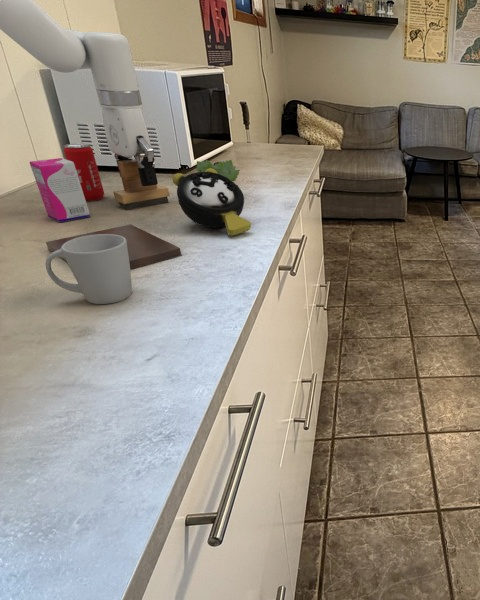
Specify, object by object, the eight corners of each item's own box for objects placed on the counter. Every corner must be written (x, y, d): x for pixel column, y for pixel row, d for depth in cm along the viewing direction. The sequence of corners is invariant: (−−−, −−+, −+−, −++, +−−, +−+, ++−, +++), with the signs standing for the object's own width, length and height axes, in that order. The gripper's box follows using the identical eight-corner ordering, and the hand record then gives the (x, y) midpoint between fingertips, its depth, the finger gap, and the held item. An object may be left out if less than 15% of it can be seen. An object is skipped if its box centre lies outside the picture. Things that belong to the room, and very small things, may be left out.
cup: (138, 303, 69) (123, 249, 65) (53, 314, 65) (32, 257, 61) (141, 282, 75) (128, 231, 71) (63, 291, 71) (45, 238, 67)
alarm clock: (197, 256, 94) (147, 188, 88) (218, 233, 107) (176, 172, 100) (250, 233, 94) (204, 162, 87) (264, 213, 107) (226, 150, 100)
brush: (125, 210, 104) (113, 165, 100) (116, 206, 106) (105, 161, 102) (171, 202, 112) (162, 159, 107) (162, 198, 114) (153, 156, 109)
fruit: (237, 202, 125) (240, 204, 112) (191, 198, 120) (189, 199, 107) (238, 163, 123) (241, 160, 110) (192, 156, 118) (190, 152, 105)
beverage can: (105, 200, 110) (91, 147, 104) (78, 202, 107) (62, 147, 102) (105, 194, 114) (91, 142, 108) (78, 196, 111) (62, 143, 105)
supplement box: (79, 210, 102) (63, 157, 97) (91, 217, 99) (75, 162, 94) (47, 216, 98) (28, 160, 93) (58, 223, 95) (39, 165, 90)
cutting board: (94, 279, 75) (91, 270, 74) (48, 249, 84) (45, 241, 83) (181, 255, 85) (180, 247, 85) (132, 231, 94) (130, 224, 93)
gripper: (81, 95, 100) (102, 176, 108) (120, 104, 92) (140, 191, 100) (119, 94, 106) (137, 171, 114) (160, 103, 97) (176, 186, 105)
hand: (139, 181), depth 107 cm, fingers open, 9 cm apart
